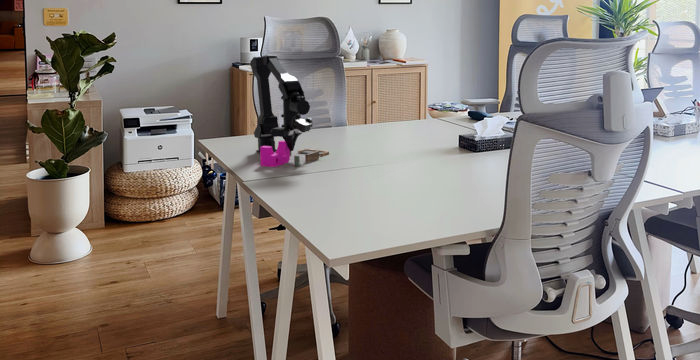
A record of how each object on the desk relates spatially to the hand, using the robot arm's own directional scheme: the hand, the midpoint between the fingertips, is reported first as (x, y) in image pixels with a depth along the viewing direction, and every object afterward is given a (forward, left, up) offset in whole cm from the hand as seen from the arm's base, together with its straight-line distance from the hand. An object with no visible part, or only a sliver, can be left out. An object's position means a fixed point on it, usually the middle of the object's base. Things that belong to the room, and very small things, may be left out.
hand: (291, 150), depth 290 cm
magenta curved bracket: (-2, -6, -4) cm, 8 cm away
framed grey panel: (0, +4, -4) cm, 6 cm away
